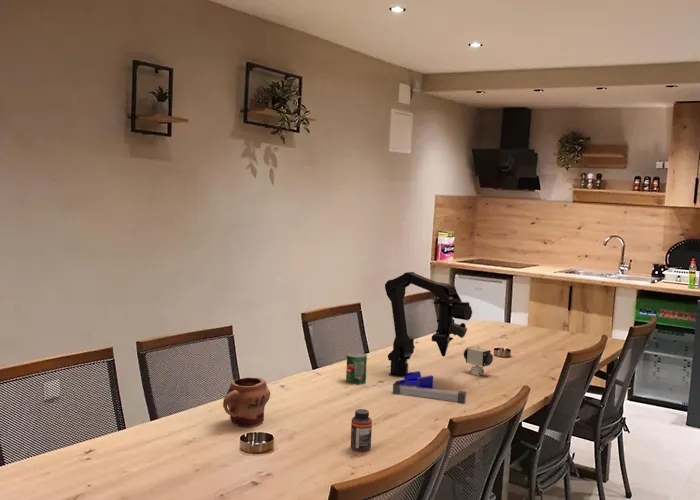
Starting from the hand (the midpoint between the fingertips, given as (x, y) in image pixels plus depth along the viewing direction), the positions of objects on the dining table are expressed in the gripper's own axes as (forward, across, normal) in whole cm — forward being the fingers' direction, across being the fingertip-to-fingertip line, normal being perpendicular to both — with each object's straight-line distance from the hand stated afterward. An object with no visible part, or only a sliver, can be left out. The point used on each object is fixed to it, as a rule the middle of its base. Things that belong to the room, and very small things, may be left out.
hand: (443, 356), depth 272 cm
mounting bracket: (+12, -9, +7) cm, 17 cm away
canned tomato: (+12, -11, +32) cm, 36 cm away
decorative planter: (+12, -74, +47) cm, 89 cm away
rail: (+12, -18, +1) cm, 22 cm away
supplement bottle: (+12, -78, +7) cm, 79 cm away
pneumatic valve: (+12, +24, -10) cm, 29 cm away
